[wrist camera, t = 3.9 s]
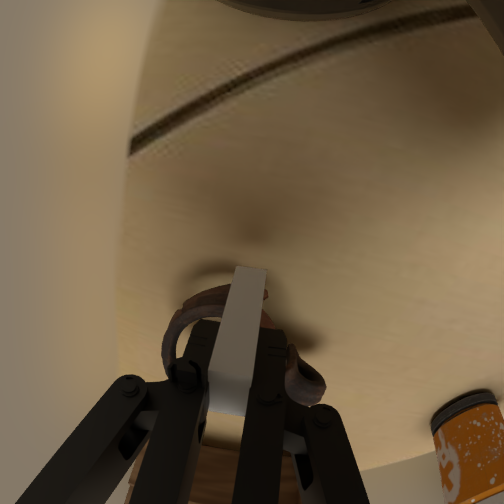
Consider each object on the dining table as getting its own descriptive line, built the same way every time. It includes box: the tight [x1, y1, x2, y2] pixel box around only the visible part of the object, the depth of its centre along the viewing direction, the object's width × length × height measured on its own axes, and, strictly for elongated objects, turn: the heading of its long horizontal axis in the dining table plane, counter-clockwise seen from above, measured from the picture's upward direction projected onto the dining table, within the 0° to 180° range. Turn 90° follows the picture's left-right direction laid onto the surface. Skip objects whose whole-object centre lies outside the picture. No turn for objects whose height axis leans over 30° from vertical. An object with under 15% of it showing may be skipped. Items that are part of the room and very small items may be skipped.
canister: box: [431, 393, 504, 504], centre depth 21 cm, size 9×11×20 cm
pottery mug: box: [161, 284, 326, 409], centre depth 22 cm, size 12×9×8 cm
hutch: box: [124, 438, 302, 504], centre depth 30 cm, size 10×21×16 cm, turn 85°
